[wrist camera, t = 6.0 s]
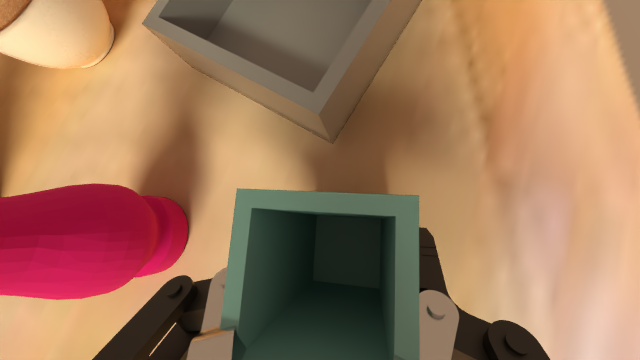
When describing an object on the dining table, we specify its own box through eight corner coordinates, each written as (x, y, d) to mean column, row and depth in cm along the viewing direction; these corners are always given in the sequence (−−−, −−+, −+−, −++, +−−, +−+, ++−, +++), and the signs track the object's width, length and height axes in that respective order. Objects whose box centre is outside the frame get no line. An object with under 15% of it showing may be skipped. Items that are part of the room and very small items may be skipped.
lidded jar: (148, 12, 25) (20, -108, 16) (98, 100, 24) (-66, 27, 15) (87, -7, 27) (-52, -119, 18) (41, 71, 27) (-127, -5, 18)
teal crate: (305, 286, 16) (213, 379, 7) (311, 206, 17) (237, 188, 8) (388, 297, 15) (420, 430, 5) (389, 211, 16) (418, 195, 6)
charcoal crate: (191, 66, 22) (142, 23, 17) (270, -53, 23) (243, -127, 18) (332, 143, 18) (318, 114, 13) (425, -7, 18) (445, -88, 13)
